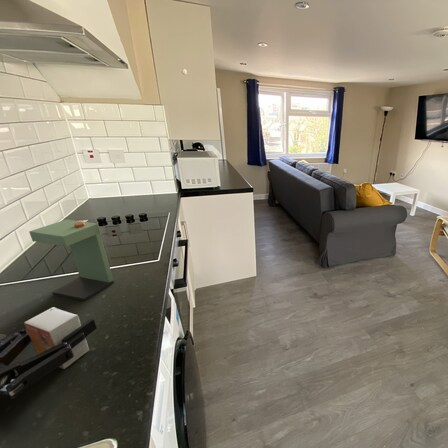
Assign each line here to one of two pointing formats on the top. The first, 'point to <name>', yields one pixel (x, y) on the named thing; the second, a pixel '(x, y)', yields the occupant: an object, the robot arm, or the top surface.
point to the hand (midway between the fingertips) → (78, 320)
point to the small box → (54, 332)
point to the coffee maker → (79, 256)
